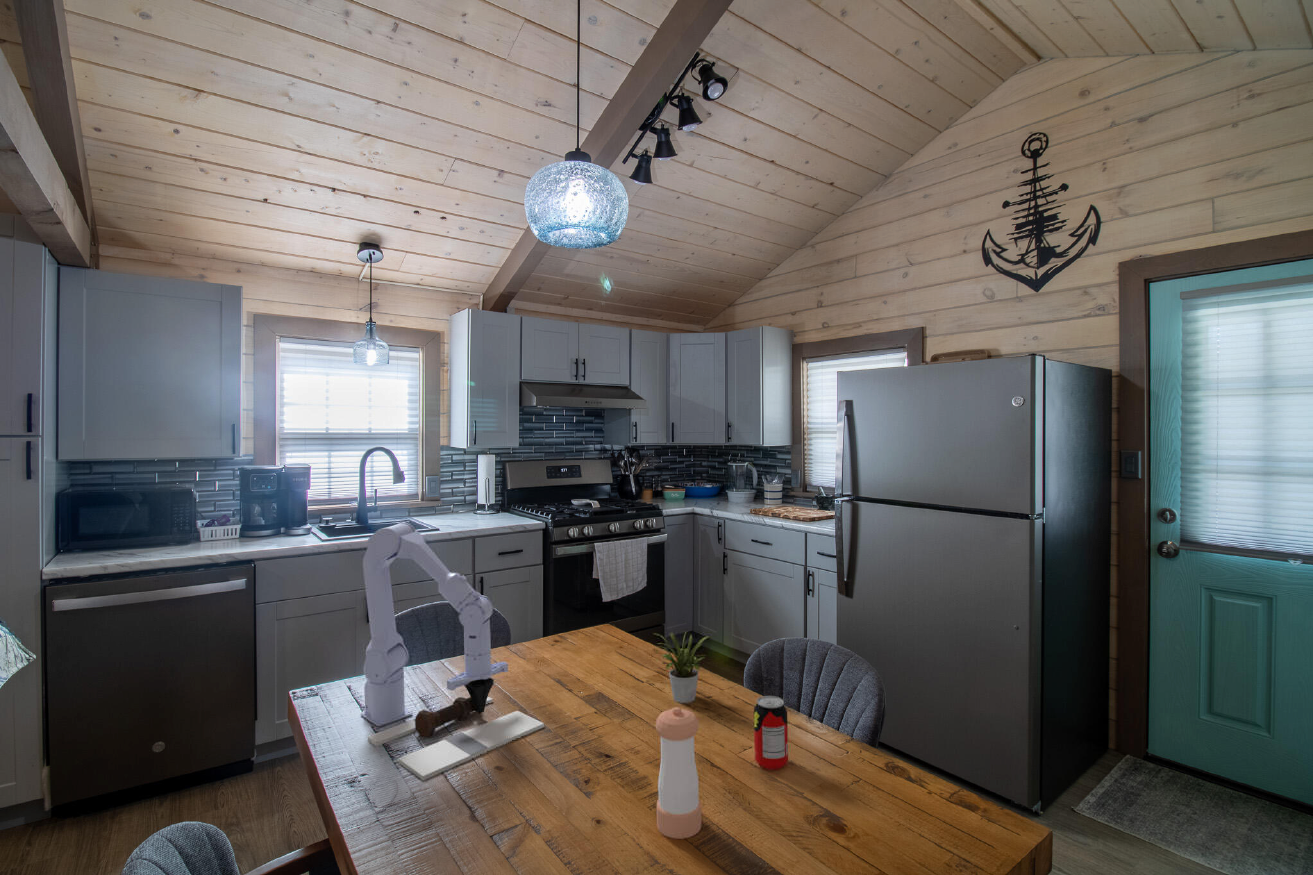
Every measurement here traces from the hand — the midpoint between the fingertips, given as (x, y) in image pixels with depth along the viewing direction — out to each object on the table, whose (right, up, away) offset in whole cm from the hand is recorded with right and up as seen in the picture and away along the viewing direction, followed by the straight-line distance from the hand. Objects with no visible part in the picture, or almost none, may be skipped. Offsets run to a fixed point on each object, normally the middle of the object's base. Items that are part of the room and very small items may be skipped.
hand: (479, 711), depth 145 cm
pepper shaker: (+44, -1, -41) cm, 60 cm away
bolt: (-6, -2, -2) cm, 6 cm away
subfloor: (-3, -2, -7) cm, 8 cm away
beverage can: (+62, -1, -22) cm, 66 cm away
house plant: (+45, -1, +8) cm, 46 cm away
